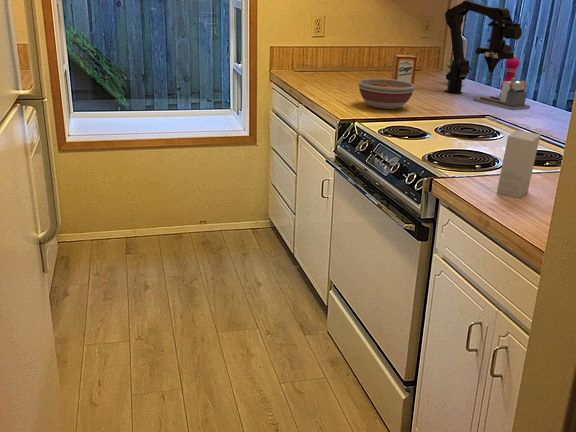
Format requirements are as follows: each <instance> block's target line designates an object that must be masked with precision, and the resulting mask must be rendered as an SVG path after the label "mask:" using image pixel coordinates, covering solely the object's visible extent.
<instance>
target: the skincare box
mask: <svg viewBox="0 0 576 432" xmlns="http://www.w3.org/2000/svg"><path fill="white" fill-rule="evenodd" d="M540 138H541V134H540V133H536V132H529V131H523V130H517V129H516V130H514V132H511V133H510V134H509V135H507V139H506V145H505V150H504V155H503V159H502V165H501V169H500V173H499V174H500V175H499V179H498V182H497V183H498V184H497V190H496V194H500V195H503V196H508V197H510V198H511V197H512V198H515V199H521V198H522V197H523V196H524V195H525V194H527V192H528V191H529V188H530V184H531V183H530V182H531V179H532V174H533V170H534V165H535V161H536V156H537V151H538V148H539V143H540V140H541V139H540Z"/></svg>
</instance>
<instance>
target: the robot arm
mask: <svg viewBox="0 0 576 432" xmlns="http://www.w3.org/2000/svg"><path fill="white" fill-rule="evenodd" d="M469 12H475V13H477V14H480V15H484V16H486V17H488V19H490V20H492V21H491V22H490V23H488V24H487V26H489V27H491V31H490V36H489V38H488V39H487V42H488V44H489V45H488V47H477V48H476V49H475V54H476V55H481V54H485V55H484V56H483V58H484V59H485V62H486V64H487V65H486V66H487V68H488V71H489V73H490V74H493V72H494V71H495V68H496V67H497V65H498V63H499V62H500V61H502V60H508V59H513V57H514V55H515V54H514V52H512V49H513V47H512V46H510V45H508V44H506V40H505V39H508V40H514V41H515V40H516V41H517V40H519V39H520V38H521V37H522V35H523V34H522V33H523V31H522V29H523V28H522V26H521V25H522V24H521V23H518V22H517V23H514V22H513V19H512V17H511V15H510V9H508V8H507V7H492V6H488V5H486V4H481V3H478V2H475V1H473V0H464V1H462V2H460V3H458V4H457V5H455V6H453V7H451V8H449V9H447V10H446V12H445V13H444V18H445V22H446V25H447V26H448V27H449V29H450V39H451V47H452V48H451V49H452V59H453V62H452V65H451V71H448V72H449V73H448V72H447V73H446V74H445V79H446V80H447V88H446V90H444V92H446V93H449V94H452V95H453V94H454V95H455V94H456V95H457V94H464V92H463V91H462V88H463V84H462V83H463V81H465V80H466V78H467V76H468V75H469V73H470V70H471V66H470V61H469V60H467V59H466V60H467V61H466V60H465V58H466V57H465V54H464V46H463V45H464V44H463V35H462V24H463V22H464V17H465V16H466V15H467V14H468V13H469Z"/></svg>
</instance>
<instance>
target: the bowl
mask: <svg viewBox="0 0 576 432" xmlns="http://www.w3.org/2000/svg"><path fill="white" fill-rule="evenodd" d="M358 87H359V93H360V95H361V97H362V99H363V100H364V102H365V103H366V104H367V105H369V106H370V107H372V108H376V109H383V110H394V109H400V108H401V107H403V106H404V105H405V104H406V103H408V102H409V100H410V99H411V98H412V95H413V93H414V90H415V84H412V83H409V82H405V81H400V80H392V78H391V79H390V78H364V79H360V80H359V81H358Z"/></svg>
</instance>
